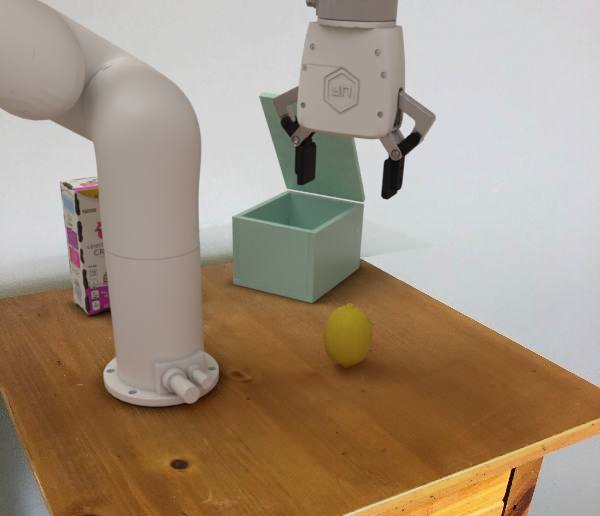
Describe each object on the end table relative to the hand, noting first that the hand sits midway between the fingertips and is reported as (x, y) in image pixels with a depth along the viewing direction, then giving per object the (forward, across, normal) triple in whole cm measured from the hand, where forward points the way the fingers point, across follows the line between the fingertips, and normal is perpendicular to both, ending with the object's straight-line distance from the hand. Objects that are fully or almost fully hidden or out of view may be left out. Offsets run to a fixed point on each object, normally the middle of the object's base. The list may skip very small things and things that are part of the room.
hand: (346, 189), depth 80 cm
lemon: (+20, +2, -2) cm, 20 cm away
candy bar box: (+20, -32, -1) cm, 37 cm away
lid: (+2, -15, +24) cm, 28 cm away
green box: (+20, -15, +20) cm, 32 cm away
